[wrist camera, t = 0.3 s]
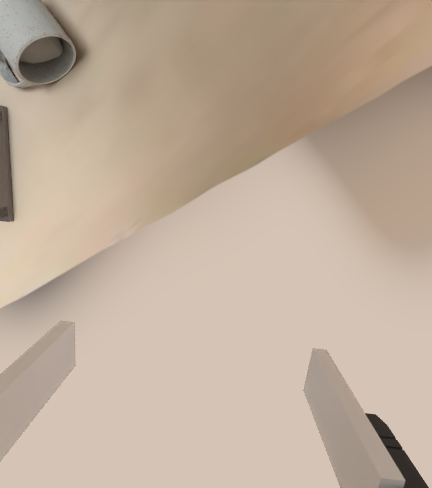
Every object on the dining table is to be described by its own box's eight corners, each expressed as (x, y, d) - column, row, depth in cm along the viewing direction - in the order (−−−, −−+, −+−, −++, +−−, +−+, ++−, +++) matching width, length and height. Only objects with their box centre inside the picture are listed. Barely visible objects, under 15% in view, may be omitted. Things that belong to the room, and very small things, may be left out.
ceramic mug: (44, -3, 35) (-6, -52, 27) (87, 55, 36) (51, 24, 29) (-11, 54, 37) (-71, 23, 29) (32, 107, 38) (-15, 91, 31)
